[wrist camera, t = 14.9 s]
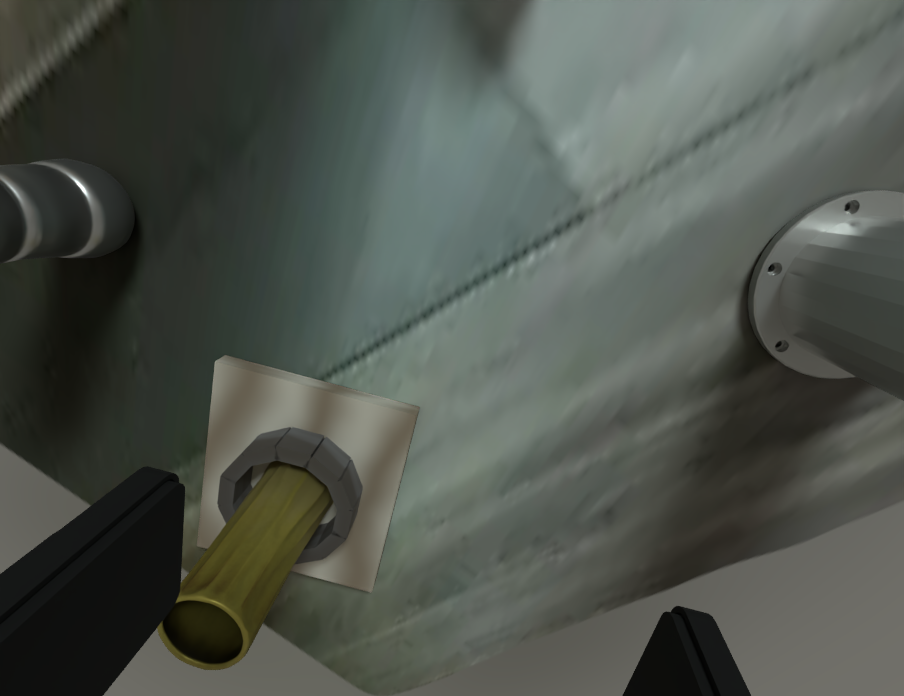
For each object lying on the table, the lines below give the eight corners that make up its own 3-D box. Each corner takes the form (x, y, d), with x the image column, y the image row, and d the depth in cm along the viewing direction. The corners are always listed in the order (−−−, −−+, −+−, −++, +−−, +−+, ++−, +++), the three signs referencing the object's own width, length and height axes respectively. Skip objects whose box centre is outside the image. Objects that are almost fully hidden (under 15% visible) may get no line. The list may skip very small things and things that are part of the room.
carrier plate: (419, 407, 39) (410, 434, 34) (375, 579, 44) (363, 621, 40) (225, 355, 39) (191, 375, 34) (206, 534, 44) (176, 571, 40)
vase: (297, 528, 41) (202, 691, 28) (249, 475, 40) (125, 619, 27) (351, 494, 40) (278, 650, 26) (303, 439, 39) (201, 572, 25)
